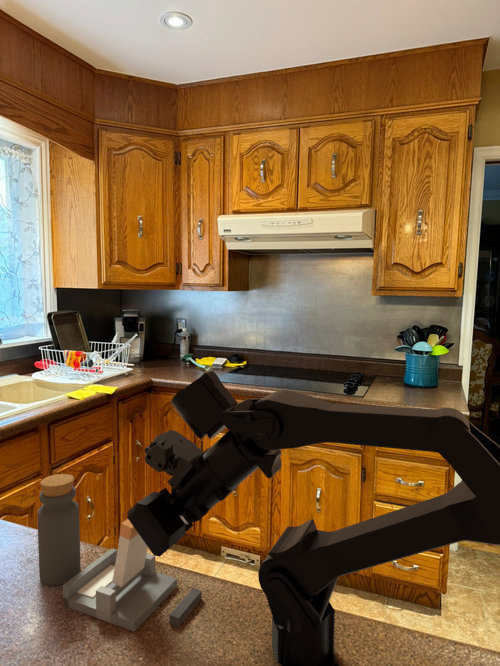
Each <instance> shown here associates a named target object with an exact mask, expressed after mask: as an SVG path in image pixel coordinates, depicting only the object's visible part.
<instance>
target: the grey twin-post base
mask: <svg viewBox="0 0 500 666" xmlns="http://www.w3.org/2000/svg"><path fill="white" fill-rule="evenodd" d="M117 550H118V549H116V548H110V549H109V550H108V551H107V552H105V553H104V554H103V555H101V556H99V557H98V558H97V559H95V560H94V561H93V562H92V563H90V564H89V565H88V566H86V567H85V568H84V569H82V570H80V573H78V574H77V575H76V576H74V577H73V578H72V579H70V580H69V581H68V582H66V583H65V584H62V599H63V600H62V602H63V603H62V605H63V606H64V607H66V608H68V609H72V610H74V611H77V612H78V613H79V612H80V613H82V614H85V615H88V616H90V617H93V618H95V619H99V620H100V621H101V620H102V621H104V622H107V623H110V624H113V625H114V626H118V627H121V628H124V629H126V630H129V631H131V632H136V630H138V628H140V626H141V625H142V624H143V623H144V622H145V621H146V620H147V619H148V618H149V617H150V616H151V615H152V614H153V613H154V612H155V610H156V609H157V608H158V607H159V606H160V605H161V604H162V603H163V602H164V601H165V600H166V599H167V598H168V596H169V595H171V594H172V593H173V592H174V590H175V589H176V588H178V578H176V577H173V576H170V575H167V574H164V573H160V572H156V556H155V555H153V554H151V553H148V552H147V554H146V559H145V567H146V570H145V571H144V572H143V573H142V574H141V575H140V576H139V577H138V578H137V579H135V580H134V581H133V582H132V583H131V584H130V585H129V586H128V587H127V588H125V589H124V590H123V591H122V592H121V593H120V594H119V595H118V596H117V597H116V590H113V589H112V588H113V587H114V586H115V585H116V584H115V583H113V582H112V580H113V574H114V568H115V562H116V556H117ZM164 599H165V600H164Z"/></svg>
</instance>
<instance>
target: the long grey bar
mask: <svg viewBox="0 0 500 666" xmlns="http://www.w3.org/2000/svg"><path fill="white" fill-rule="evenodd" d="M202 592H203V591H202V590H200V589H197V588H194V587H193V588H192V589H191V590H190V591H189V592H188V593H187V594H186V595H185V597H184V598H183V599H182V600H181V601H180V603H178V605H177V606H176V607H175V608H174V609H173V611H172V612H171V613H170V614H169V615H168V616H169V618H168V619H169V625H172V626H176V627H180V626H181V624H182V623H183V622H184V621H185V620H186V619H187V618H188V617H189V615H190V614H191V612H192V611H193V610H194V609H195V607H196V606H198V604H199V603H200V602H201V601H202V598H203V596H202V595H203V593H202Z"/></svg>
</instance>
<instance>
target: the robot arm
mask: <svg viewBox="0 0 500 666" xmlns="http://www.w3.org/2000/svg"><path fill="white" fill-rule="evenodd" d="M170 404H171V405H172V407H173V408H174V409H175V411H176V412H177V413H178V415H180V417H181V418H182V419H183V421H184V423H185V424H187V426H188V427H189V428H190V430H191V431H192V432H193V433H194V435H195V436H196V438H198V439H200V440H202V439H204V438H205V437H206V436H207V438H208V439H209V440H212V439H214V438H216V436H218V435H219V434H220V433H222V432H223V431H224V430H225V429H227V431H226V432H225V433H224V434H223V435H222V436H221V437H220V438H218V440H217V441H216V442H215V443H214V444H213V445H212V446H209V447H208V448H207V449H205V450H204V451H203V450H202V449H201V448H199V447H198V446H197V444H196V443H195V442H193V441H192V440H190V439H189V438H187V437H186V436H184V435H183V434H181V433H180V432H179V431H176V430H172V429H169V430H167V431H165V432H164V433H163V432H162V433H161V434H159V435H157V436H155V437H154V439H153V440H152V441H151V442H150V443H149V446H147V447H145V448H144V453H145V456H144V461H145V464H146V465H148V466H149V467H151V468H152V469H153V470H154V471H156V472H157V473H162V472H164V473H166V474H167V475H168V476H171V478H169V479H168V480H167V483H168V484H169V486H170V487H171V488H170V489H171V491H169V490H168V489H167V487H164V488H162V489H161V490H160V491H158V492H157V491H153V492H150V493H149V494H148V495H146V496H145V497H144V498H142V499H141V500H138V502H136V503H135V504H134V505H133V506H132V507H131V508H130V509H128V510H127V515H126V516H127V519H128V520H129V521H130V522H131V524H132V525H133V527H134V528H135V529H136V531H137V532H138V534H139V535H140V536H141V538H142V539H143V541H144V542H145V544H146V545H147V546H148V548H147V549H149V551H150V552H151V553H152V555H155V557H160V558H161V556H162V555H164V554H165V553H166V552H168V551H169V549H171V548H172V547H173V546H174V545H175V544H176V543H177V542H178V541H179V540H181V539H182V538H183V537H184V536H185V535H186V533H187V532H188V531H190V529H192V527H194V523H195V522H199V521H200V520H202V519H203V518H204V517H205V516H206V515H207V514H208V513H209V512H210V510H211V509H212V508H214V507H215V506H216V505H217V504H218V503H219V502H224V501H223V500H225V499H226V498H227V497H228V496H229V495H231V494H232V493H234V491H236V489H237V488H238V487H239V485H240V484H241V483H242V482H244V480H246V479H247V478H248V477H249V476H251V475H252V474H253V473H254V472H255V471H256V470H257V469H259V470H260V471H261V472H262V474H263V475H264V476H265V477H266V478H267V479H272V478H273V477H274V476H276V474H277V473H278V472H279V471H280V470H281V468H282V459H281V455H282V450H285V449H286V450H289V449H299V448H302V447H307V446H312V445H316V444H325V443H327V444H328V443H331V444H340V445H341V444H342V445H352V446H353V445H354V446H361V447H362V446H363V447H375V448H376V447H377V448H387V449H395V450H396V449H399V450H410V451H419V452H420V451H421V452H430V453H431V452H432V453H436V454H437V453H438V454H439V455H440V456H441V457H442V458H443V459H444V460H445V461H446V462H447V463H448V464H449V465H450V466H451V468H452V469H453V470H454V472H455V473H456V474H457V476H458V477H459V478H460V479H461V481H459V482H458V483H457V484H455V485H454V486H453V487H452V488H451V489H450V490H448V491H447V492H445V493H443V494H440V495H438V496H435V497H431V498H429V499H426V500H423V501H419V502H416V503H413V504H411V505H407V506H404V507H402V508H398V509H395V510H393V511H390V512H387V513H384V514H381V515H378V516H376V517H372V518H368V519H366V520H363V521H360V522H357V523H354V524H351V525H348V526H345V527H342V528H339V529H336V530H332V531H327V530H320V529H317V526H316V523H315V519H312V518H311V519H310V520H307V521H306V522H304V523H302V524H300V525H298V526H291V525H289V526H286V528H285V529H284V531H283V533H282V534H281V535H280V536H279V537H278V540H276V542H275V544H274V545H273V546H272V548H271V549H270V550H269V552H268V554H267V555H266V557H265V559H264V560H263V561H262V562H261V564H260V566H259V569H258V572H257V573H258V582H259V586H260V588H261V590H262V592H263V593H264V595H265V597H266V599H267V604H268V607H269V609H270V612H271V616H272V617H271V649H272V651H273V655H274V658H275V660H276V662H277V664H278V665H280V666H341V665H340V662H339V660H338V658H337V657H336V655H335V628H336V627H335V623H336V620H335V619H336V610H335V609H334V606H333V605H332V604H331V602H330V599H331V597H332V595H333V592H334V589H335V587H336V584H337V582H338V581H339V580H338V579H339V578H340V577H342V576H346V575H349V574H353V573H356V572H360V571H363V570H367V569H369V568H373V567H377V566H381V565H384V564H387V563H391V562H394V561H397V560H401V559H405V558H409V557H411V556H412V557H413V556H415V555H418V554H422V553H426V552H429V551H433V550H436V549H439V548H442V547H446V546H451V545H454V544H457V543H460V542H472V543H478V544H485V545H486V544H487V545H493V546H500V445H499V444H498V443H497V442H496V441H494V440H492V439H491V437H489V436H488V435H486V434H485V433H484V432H483V431H481V430H480V429H479V428H478V427H476V426H475V425H474V424H472V423H471V421H470V420H468V417H466V416H465V414H464V413H463V412H461V411H460V410H458V409H456V408H453V407H452V408H451V407H442V408H437V409H436V408H419V407H401V406H400V407H399V406H387V405H386V406H383V405H382V406H381V405H365V404H363V405H362V404H349V403H334V402H328V401H325V400H322V399H319V398H317V397H315V396H312V395H309V394H306V393H300V392H296V391H292V390H289V389H287V390H286V389H282V390H276V391H274V392H272V393H270V394H268V395H266V396H264V397H262V398H259V397H258V398H246V399H244V400H242V401H240V402H239V403H238V400H236V399H235V397H234V396H233V395H232V394H231V393H230V390H228V388H226V386H225V385H224V384H223V382H222V381H221V379H220V377H219V376H218V375H217V373H216V372H215V371H214V370H209V371H205V372H203V373H202V375H200V377H198V378H197V379H196V380H193V381H192V382H191V383H190V384H188V385H187V386H185V387H184V388H182V389H180V390H179V391H177V393H176V394H175V395H174V396H173V397H172V399H171V400H170Z"/></svg>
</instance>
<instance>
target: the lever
mask: <svg viewBox="0 0 500 666" xmlns="http://www.w3.org/2000/svg"><path fill="white" fill-rule="evenodd" d="M117 546H118V547H117V549H116V550H117V556H116V562H115V568H114V574H113V580H112V582H113V583H115V584H116V585H115V586H114V587H113V588H112V589H113V590H116V597H117V596H118V595H119V594H120V593H121V592H122V591H123V590H124V589H125V588H127V587H128V586H129V585H130V584H131V583H132V582H133V581H134V580H135V579H137V578H138V577H139V576H140V575H141V574H142V573H143V572H144V571H145V570H146V567H145V559H146V554H147V553H148V549H149V548H148V546H147V545H146V544H145V542H144V541H143V539H142V538H141V536H140V535H139V534H138V532H137V531H136V529H135V528H134V527H133V525H132V524H131V522H130V521H129V520H128V518H127V519H125V520H124V521H122V522H121V523H120V530H119V539H118V545H117Z"/></svg>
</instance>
